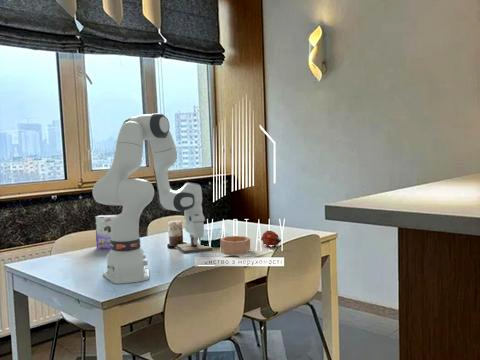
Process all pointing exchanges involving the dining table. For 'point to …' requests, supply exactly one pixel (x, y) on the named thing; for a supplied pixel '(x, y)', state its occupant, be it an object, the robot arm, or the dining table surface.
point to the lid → (193, 247)
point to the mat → (191, 252)
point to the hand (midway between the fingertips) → (194, 243)
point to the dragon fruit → (270, 238)
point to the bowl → (235, 244)
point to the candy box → (103, 231)
